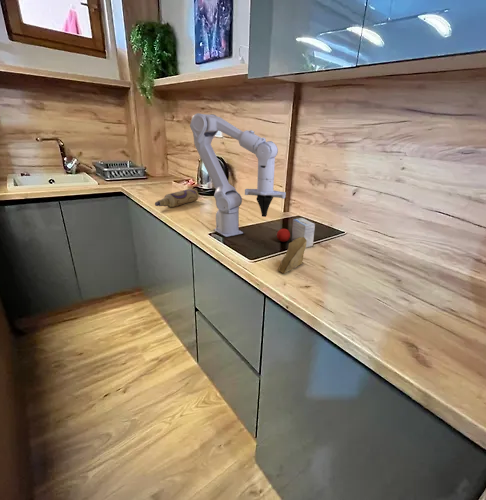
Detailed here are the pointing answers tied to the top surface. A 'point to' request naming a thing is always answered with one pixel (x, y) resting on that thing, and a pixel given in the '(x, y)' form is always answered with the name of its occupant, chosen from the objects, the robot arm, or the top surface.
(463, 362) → the top surface
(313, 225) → the medicine box
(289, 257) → the rock
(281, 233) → the ball
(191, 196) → the decorative bottle
